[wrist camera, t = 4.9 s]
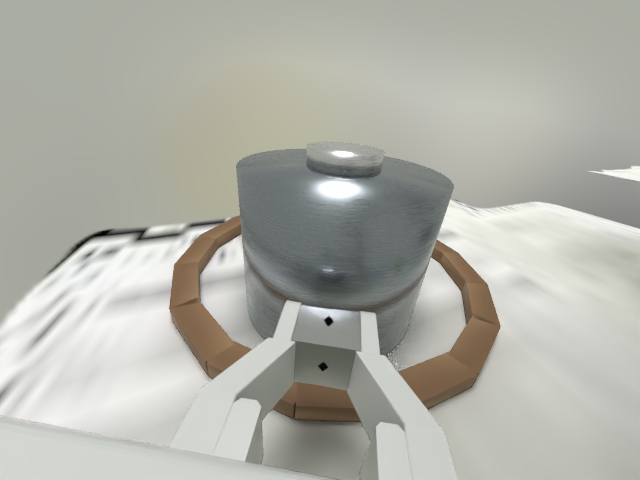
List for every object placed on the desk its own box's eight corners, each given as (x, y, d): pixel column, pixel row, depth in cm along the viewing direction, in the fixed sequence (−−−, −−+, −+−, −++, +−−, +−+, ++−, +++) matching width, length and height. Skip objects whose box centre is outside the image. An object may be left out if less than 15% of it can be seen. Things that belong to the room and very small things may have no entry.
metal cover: (412, 274, 21) (450, 148, 16) (402, 401, 12) (482, 197, 7) (291, 244, 24) (294, 129, 19) (210, 326, 15) (176, 147, 10)
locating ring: (468, 243, 27) (472, 235, 27) (549, 547, 8) (566, 537, 8) (279, 200, 34) (280, 193, 34) (82, 312, 15) (76, 299, 14)
